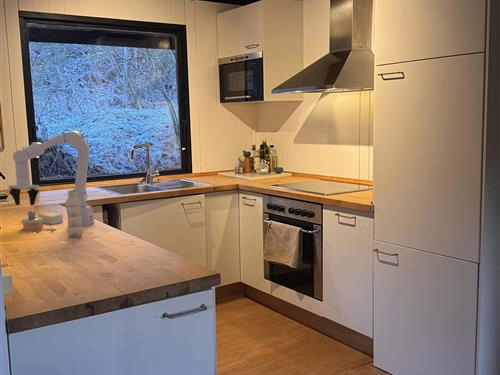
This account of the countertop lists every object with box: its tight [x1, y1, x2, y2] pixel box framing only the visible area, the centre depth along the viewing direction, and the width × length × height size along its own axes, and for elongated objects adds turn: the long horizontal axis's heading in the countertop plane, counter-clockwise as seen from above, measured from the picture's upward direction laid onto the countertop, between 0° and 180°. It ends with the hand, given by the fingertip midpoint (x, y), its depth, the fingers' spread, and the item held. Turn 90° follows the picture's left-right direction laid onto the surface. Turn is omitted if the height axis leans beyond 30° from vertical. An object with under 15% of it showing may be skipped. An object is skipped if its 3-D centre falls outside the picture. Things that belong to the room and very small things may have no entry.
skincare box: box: [38, 211, 64, 225], centre depth 254 cm, size 6×4×12 cm
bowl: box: [22, 221, 44, 231], centre depth 241 cm, size 8×8×4 cm
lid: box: [20, 210, 43, 225], centre depth 240 cm, size 9×9×5 cm
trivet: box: [32, 228, 57, 234], centre depth 234 cm, size 10×10×1 cm
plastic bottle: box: [64, 189, 84, 238], centre depth 222 cm, size 6×7×20 cm
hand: (25, 204), depth 244 cm, fingers open, 7 cm apart
